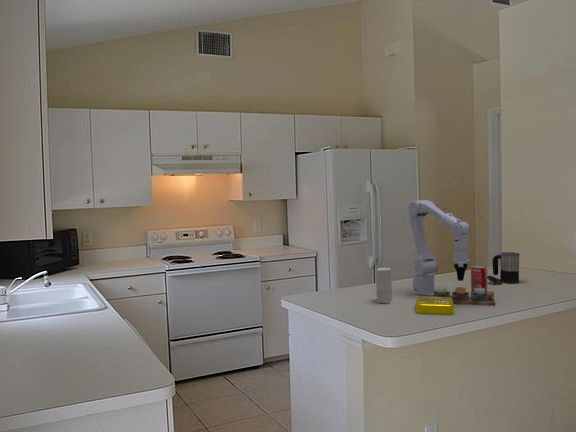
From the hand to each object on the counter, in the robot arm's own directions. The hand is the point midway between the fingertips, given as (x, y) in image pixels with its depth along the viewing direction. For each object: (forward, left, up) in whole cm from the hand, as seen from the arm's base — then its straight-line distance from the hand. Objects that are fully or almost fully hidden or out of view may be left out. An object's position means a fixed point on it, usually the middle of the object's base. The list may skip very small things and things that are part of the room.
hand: (460, 280), depth 247 cm
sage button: (-8, -2, -6) cm, 10 cm away
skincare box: (-30, -14, -10) cm, 34 cm away
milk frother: (+9, +50, -10) cm, 52 cm away
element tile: (-6, -19, -10) cm, 22 cm away
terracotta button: (0, 0, -6) cm, 6 cm away
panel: (0, 0, -9) cm, 9 cm away
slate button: (+8, +2, -6) cm, 10 cm away
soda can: (+4, +18, -10) cm, 21 cm away
